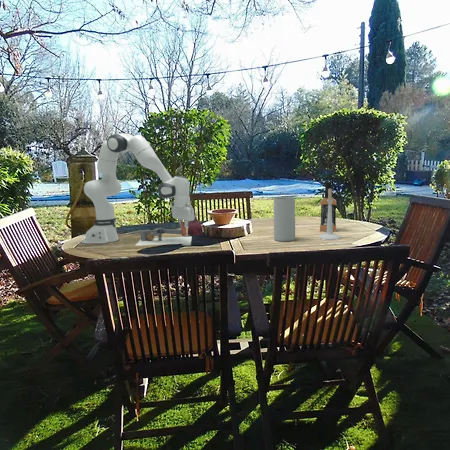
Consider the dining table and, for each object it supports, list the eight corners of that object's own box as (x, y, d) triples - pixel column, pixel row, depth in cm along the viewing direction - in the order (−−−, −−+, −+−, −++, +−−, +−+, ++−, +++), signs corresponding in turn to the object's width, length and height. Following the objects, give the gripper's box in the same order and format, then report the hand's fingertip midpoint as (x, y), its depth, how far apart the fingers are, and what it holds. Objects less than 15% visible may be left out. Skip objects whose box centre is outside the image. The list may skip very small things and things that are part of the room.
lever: (152, 235, 236) (151, 222, 235) (158, 233, 243) (158, 220, 241) (181, 237, 228) (181, 223, 227) (187, 234, 234) (187, 221, 233)
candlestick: (334, 235, 243) (334, 186, 239) (344, 239, 231) (345, 188, 226) (315, 237, 241) (315, 187, 236) (324, 240, 228) (324, 189, 224)
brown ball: (146, 241, 238) (146, 234, 238) (147, 240, 243) (147, 232, 242) (153, 241, 239) (153, 233, 238) (154, 239, 243) (154, 232, 242)
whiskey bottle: (336, 229, 264) (336, 181, 259) (336, 231, 255) (336, 182, 250) (320, 229, 267) (320, 181, 262) (319, 231, 257) (320, 182, 252)
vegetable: (200, 240, 260) (200, 219, 253) (185, 238, 262) (185, 217, 255) (204, 233, 269) (205, 213, 263) (190, 231, 271) (190, 211, 265)
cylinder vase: (275, 242, 229) (274, 199, 226) (273, 238, 242) (272, 197, 238) (296, 241, 229) (296, 198, 225) (293, 237, 242) (293, 196, 238)
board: (135, 247, 228) (134, 235, 227) (141, 240, 249) (140, 229, 247) (190, 245, 229) (190, 232, 228) (191, 238, 250) (191, 227, 249)
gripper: (196, 204, 224) (197, 228, 226) (178, 202, 240) (179, 224, 242) (187, 205, 220) (188, 229, 222) (169, 203, 236) (170, 225, 239)
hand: (183, 226), depth 232 cm, fingers open, 3 cm apart
